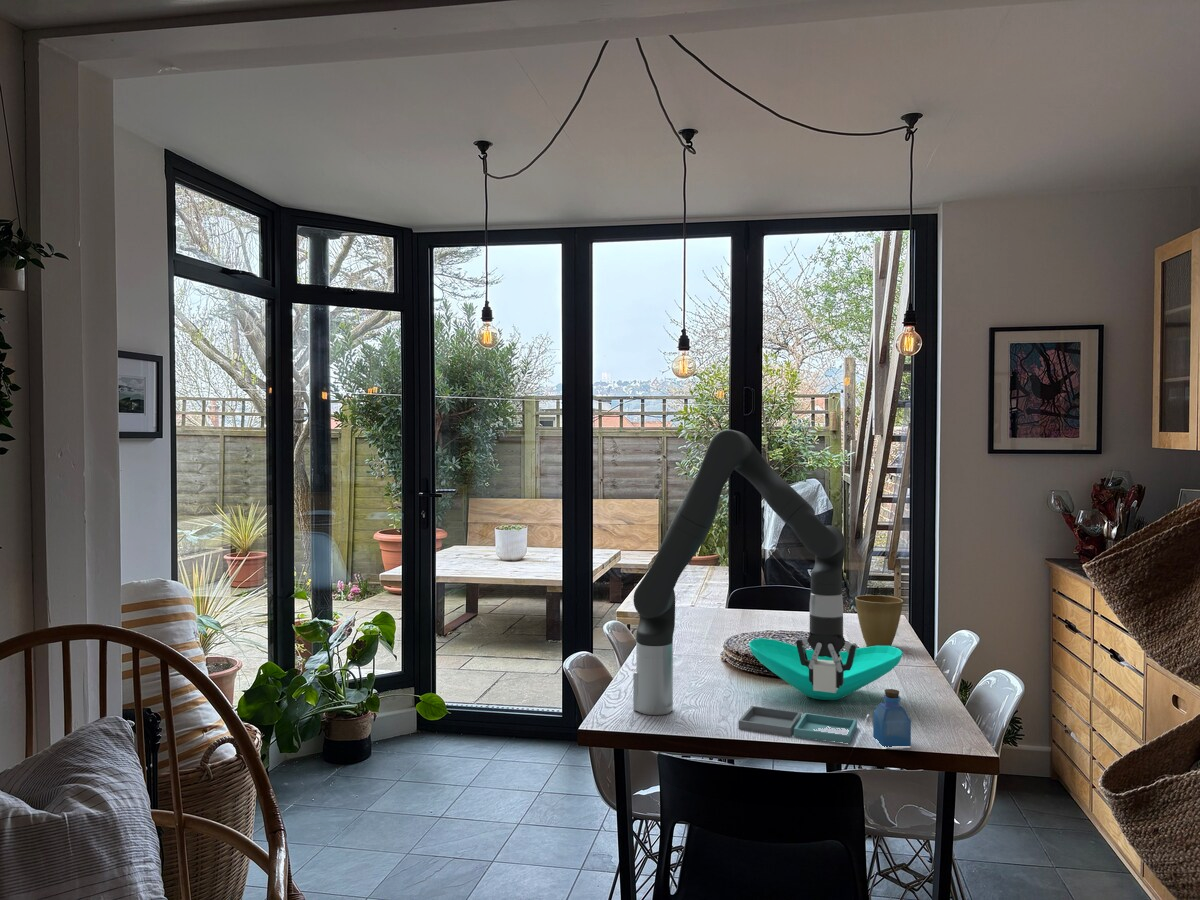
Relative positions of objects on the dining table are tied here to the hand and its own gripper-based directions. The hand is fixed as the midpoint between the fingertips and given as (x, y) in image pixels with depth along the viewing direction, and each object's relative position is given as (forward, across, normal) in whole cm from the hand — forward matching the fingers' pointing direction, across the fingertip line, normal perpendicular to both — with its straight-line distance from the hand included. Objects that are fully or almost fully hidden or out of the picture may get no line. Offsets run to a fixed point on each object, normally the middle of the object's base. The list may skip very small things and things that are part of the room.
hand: (826, 685), depth 197 cm
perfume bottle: (+12, +14, 0) cm, 19 cm away
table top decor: (+12, -6, +29) cm, 32 cm away
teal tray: (+11, 0, 0) cm, 11 cm away
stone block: (+1, 0, 0) cm, 1 cm away
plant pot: (+12, +2, +90) cm, 91 cm away
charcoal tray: (+11, -13, 0) cm, 17 cm away
